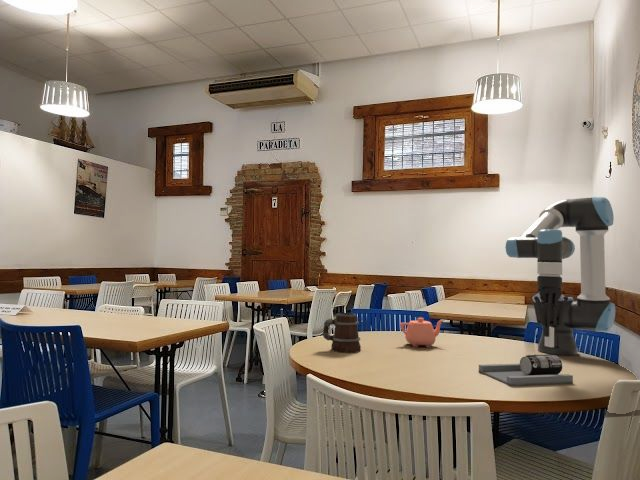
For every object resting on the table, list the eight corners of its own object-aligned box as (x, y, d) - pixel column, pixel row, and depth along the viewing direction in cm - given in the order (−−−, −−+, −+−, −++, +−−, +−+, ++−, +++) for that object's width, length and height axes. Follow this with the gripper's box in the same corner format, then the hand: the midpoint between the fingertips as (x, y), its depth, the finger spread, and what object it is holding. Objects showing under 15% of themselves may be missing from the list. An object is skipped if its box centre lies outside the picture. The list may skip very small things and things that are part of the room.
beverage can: (548, 370, 162) (517, 371, 160) (550, 351, 162) (519, 352, 159) (562, 377, 156) (530, 379, 153) (564, 358, 155) (532, 359, 153)
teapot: (448, 348, 204) (449, 320, 205) (402, 348, 204) (403, 319, 204) (439, 343, 218) (439, 316, 218) (396, 342, 217) (396, 315, 217)
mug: (356, 347, 202) (357, 312, 203) (362, 353, 190) (363, 315, 191) (320, 347, 200) (320, 311, 201) (324, 353, 188) (324, 315, 189)
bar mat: (535, 370, 167) (535, 363, 167) (572, 383, 150) (572, 375, 150) (478, 371, 162) (478, 364, 163) (510, 385, 145) (510, 377, 145)
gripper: (558, 275, 164) (558, 344, 164) (525, 274, 162) (524, 344, 161) (574, 276, 157) (574, 348, 156) (540, 275, 154) (539, 349, 153)
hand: (549, 346), depth 158 cm, fingers closed
